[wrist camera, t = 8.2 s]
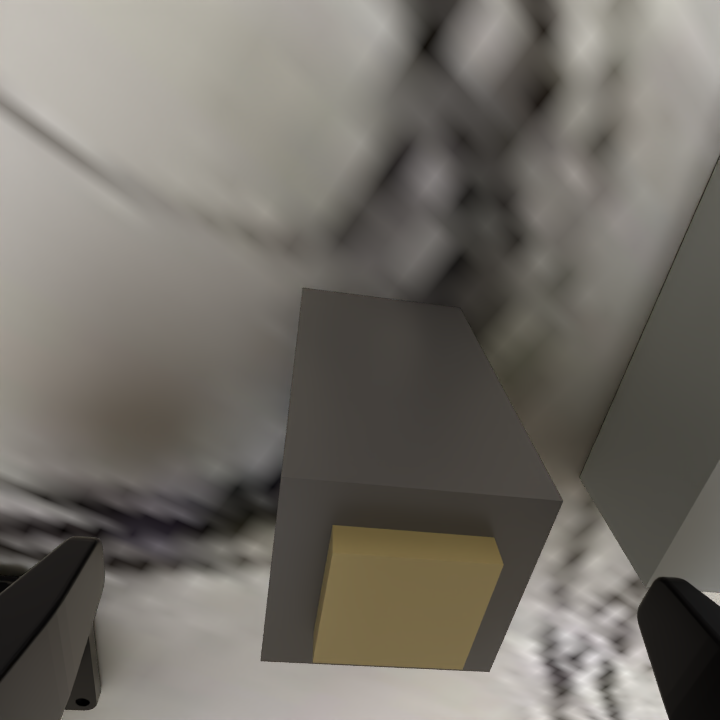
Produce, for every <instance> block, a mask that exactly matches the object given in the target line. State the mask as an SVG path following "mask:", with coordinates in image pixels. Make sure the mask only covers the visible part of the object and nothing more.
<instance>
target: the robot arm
mask: <svg viewBox="0 0 720 720" xmlns="http://www.w3.org/2000/svg"><path fill="white" fill-rule="evenodd" d="M104 581H105V570H104V559H103V547H102V542H101V540H100V539H99V538H96V537H84V536H73V537H70V538H68V539H67V540H65V541H64V542H63V543H62V544H61V545H59V546H58V547H57V548H56V549H54V550H53V551H52V552H51V553H49V554H48V555H47V556H46V557H45V558H43V559H42V560H41V561H40V562H38V563H37V564H36V565H35V566H33V567H32V568H31V569H30V570H29V571H27V572H26V573H25V574H24V575H22V576H21V577H14V576H0V720H60V719H61V716H62V714H63V712H64V710H90V709H93V708H94V707H95V706H96V705H97V702H98V699H99V696H100V693H101V689H100V680H99V672H98V663H97V654H96V645H95V636H94V627H93V620H94V617H95V614H96V611H97V608H98V604H99V601H100V598H101V595H102V591H103V587H104ZM637 619H638V624H639V628H640V631H641V634H642V637H643V640H644V643H645V647H646V650H647V653H648V656H649V659H650V662H651V666H652V669H653V672H654V675H655V678H656V681H657V684H658V688H659V691H660V694H661V697H662V700H663V703H664V706H665V709H666V712H667V715H668V718H669V720H720V606H719V605H717V604H716V603H715V602H713V601H712V600H711V599H710V598H708V597H707V596H706V595H704V594H703V593H702V592H701V591H699V590H698V589H697V588H695V587H694V586H693V585H691V584H690V583H689V582H687V581H686V580H684V579H682V578H677V577H658V578H656V579H655V580H654V581H653V583H652V584H651V586H650V588H649V590H648V591H647V593H646V595H645V596H644V598H643V600H642V602H641V603H640V605H639V607H638V611H637Z"/></svg>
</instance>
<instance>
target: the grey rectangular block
mask: <svg viewBox="0 0 720 720" xmlns="http://www.w3.org/2000/svg"><path fill="white" fill-rule="evenodd" d="M562 503H563V500H562V498H561V496H560V494H559V492H558V490H557V489H556V487H555V485H554V483H553V481H552V479H551V477H550V475H549V474H548V472H547V470H546V468H545V466H544V464H543V462H542V460H541V459H540V457H539V455H538V453H537V451H536V449H535V447H534V445H533V444H532V442H531V440H530V438H529V436H528V434H527V432H526V430H525V429H524V427H523V425H522V423H521V421H520V419H519V417H518V415H517V414H516V412H515V410H514V408H513V406H512V404H511V402H510V400H509V399H508V397H507V395H506V393H505V391H504V389H503V387H502V386H501V384H500V382H499V380H498V378H497V376H496V374H495V372H494V371H493V369H492V367H491V365H490V363H489V361H488V359H487V357H486V356H485V354H484V352H483V350H482V348H481V346H480V344H479V342H478V341H477V339H476V337H475V335H474V333H473V331H472V329H471V327H470V326H469V324H468V322H467V320H466V318H465V316H464V314H463V312H462V311H461V309H460V308H458V307H450V306H442V305H434V304H426V303H418V302H410V301H402V300H395V299H387V298H379V297H371V296H363V295H355V294H347V293H339V292H331V291H324V290H316V289H308V288H303V291H302V300H301V308H300V317H299V326H298V334H297V343H296V352H295V360H294V369H293V378H292V386H291V395H290V404H289V412H288V421H287V430H286V438H285V447H284V456H283V464H282V473H281V482H280V491H279V500H278V509H277V518H276V527H275V536H274V545H273V553H272V562H271V571H270V580H269V589H268V598H267V607H266V616H265V625H264V634H263V643H262V652H261V661H268V662H289V663H310V664H331V665H353V666H374V667H395V668H416V669H438V670H459V671H480V672H490V669H491V667H492V665H493V662H494V660H495V658H496V655H497V653H498V651H499V648H500V646H501V644H502V641H503V639H504V637H505V635H506V632H507V630H508V628H509V625H510V623H511V621H512V618H513V616H514V614H515V611H516V609H517V607H518V604H519V602H520V600H521V597H522V595H523V593H524V591H525V588H526V586H527V584H528V581H529V579H530V577H531V574H532V572H533V570H534V567H535V565H536V563H537V560H538V558H539V556H540V553H541V551H542V549H543V547H544V544H545V542H546V540H547V537H548V535H549V533H550V530H551V528H552V526H553V523H554V521H555V519H556V516H557V514H558V512H559V509H560V507H561V505H562Z"/></svg>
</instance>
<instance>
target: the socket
mask: <svg viewBox="0 0 720 720" xmlns="http://www.w3.org/2000/svg"><path fill="white" fill-rule="evenodd" d="M580 480H581V482H582V483H583V485H584V487H585V488H586V490H587V492H588V493H589V495H590V497H591V498H592V500H593V502H594V503H595V505H596V506H597V508H598V510H599V511H600V513H601V515H602V516H603V518H604V520H605V521H606V523H607V525H608V526H609V528H610V530H611V531H612V533H613V535H614V536H615V538H616V540H617V541H618V543H619V545H620V546H621V548H622V550H623V551H624V553H625V555H626V556H627V558H628V560H629V561H630V563H631V565H632V566H633V568H634V570H635V571H636V573H637V575H638V576H639V578H640V580H641V581H642V583H643V585H644V586H645V588H650V586H651V584H652V583H653V581H654V580H655V579H656V578H658V577H677V578H682V579H684V580H686V581H687V582H689V583H690V584H691V585H693V586H694V587H695V588H697V589H698V590H699V591H701V592H716V593H720V158H719V160H718V162H717V165H716V167H715V169H714V171H713V174H712V176H711V178H710V181H709V183H708V185H707V187H706V190H705V192H704V194H703V197H702V199H701V201H700V203H699V206H698V208H697V210H696V213H695V215H694V217H693V219H692V222H691V224H690V226H689V229H688V231H687V233H686V235H685V238H684V240H683V242H682V245H681V247H680V249H679V251H678V254H677V256H676V258H675V261H674V263H673V265H672V267H671V270H670V272H669V274H668V277H667V279H666V281H665V283H664V286H663V288H662V290H661V293H660V295H659V297H658V299H657V302H656V304H655V306H654V309H653V311H652V313H651V315H650V318H649V320H648V322H647V324H646V327H645V329H644V331H643V334H642V336H641V338H640V340H639V343H638V345H637V347H636V350H635V352H634V354H633V356H632V359H631V361H630V363H629V366H628V368H627V370H626V372H625V375H624V377H623V379H622V382H621V384H620V386H619V388H618V391H617V393H616V395H615V398H614V400H613V402H612V404H611V407H610V409H609V411H608V414H607V416H606V418H605V420H604V423H603V425H602V427H601V430H600V432H599V434H598V436H597V439H596V441H595V443H594V446H593V448H592V450H591V452H590V455H589V457H588V459H587V462H586V464H585V466H584V468H583V471H582V473H581V475H580Z"/></svg>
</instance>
